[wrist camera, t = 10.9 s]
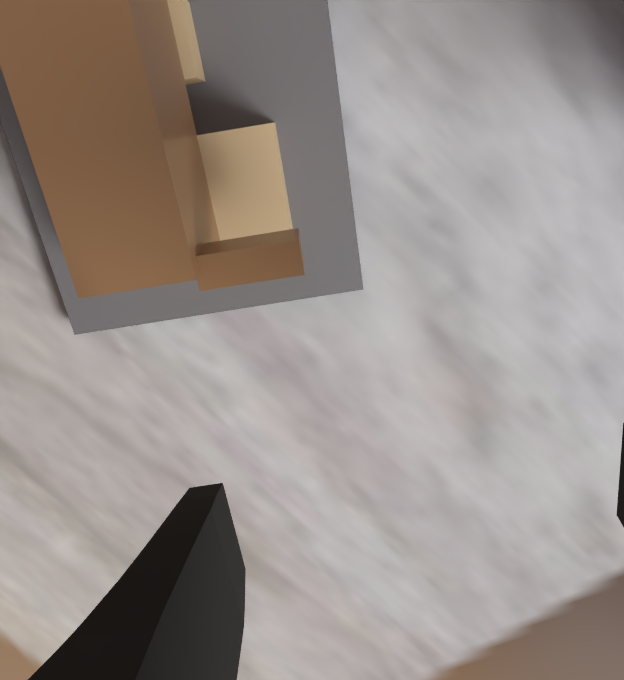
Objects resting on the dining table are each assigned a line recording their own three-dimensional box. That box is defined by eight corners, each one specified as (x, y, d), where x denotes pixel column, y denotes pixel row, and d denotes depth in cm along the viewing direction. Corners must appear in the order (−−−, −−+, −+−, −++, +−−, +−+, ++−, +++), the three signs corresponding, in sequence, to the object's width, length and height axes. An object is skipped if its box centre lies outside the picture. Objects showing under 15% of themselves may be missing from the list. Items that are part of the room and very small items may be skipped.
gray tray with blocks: (280, -353, 13) (277, -481, 10) (360, 282, 19) (371, 310, 16) (-121, -275, 13) (-230, -379, 11) (83, 326, 19) (47, 360, 17)
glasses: (209, -330, 11) (165, -561, 7) (302, 242, 15) (305, 280, 12) (-26, -284, 11) (-186, -486, 7) (133, 269, 16) (83, 315, 12)
